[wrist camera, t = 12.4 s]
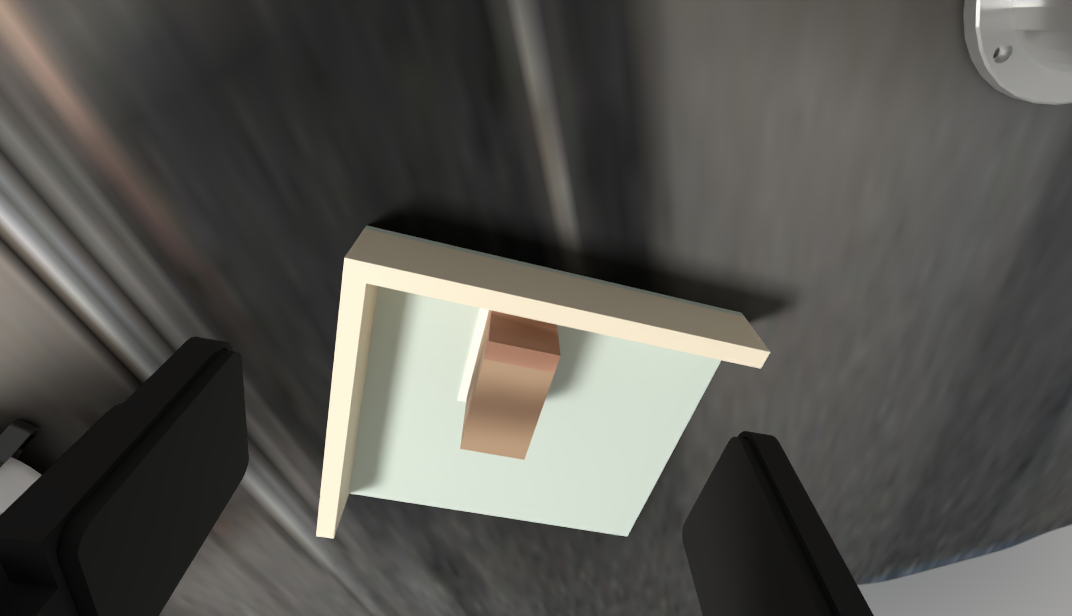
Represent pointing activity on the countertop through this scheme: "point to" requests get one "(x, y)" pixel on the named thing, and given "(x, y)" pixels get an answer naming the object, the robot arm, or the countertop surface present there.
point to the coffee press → (15, 462)
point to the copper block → (509, 384)
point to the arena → (571, 403)
